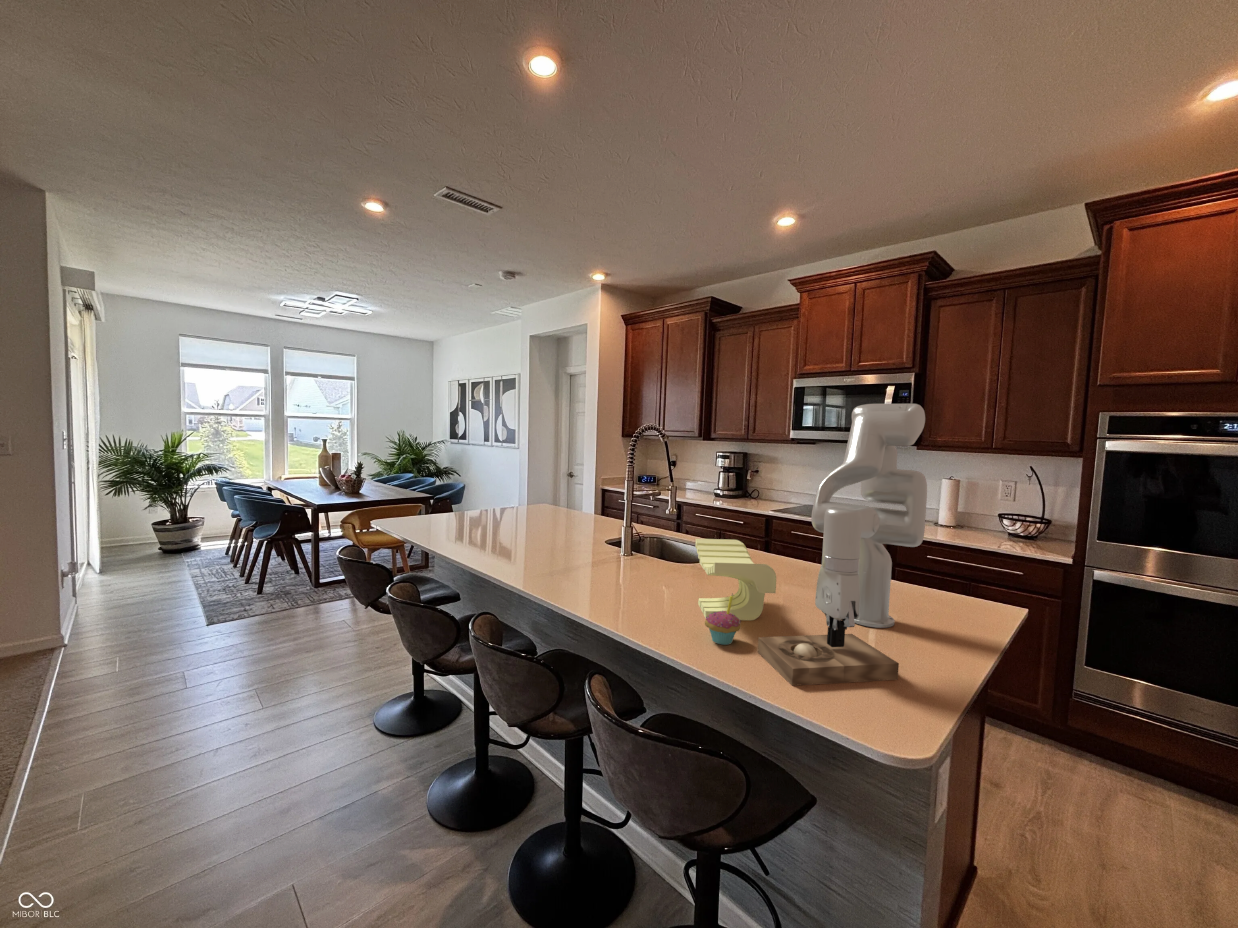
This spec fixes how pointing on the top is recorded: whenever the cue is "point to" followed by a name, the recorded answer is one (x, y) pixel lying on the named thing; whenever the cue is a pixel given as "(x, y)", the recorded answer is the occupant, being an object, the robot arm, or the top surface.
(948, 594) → the top surface
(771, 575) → the slatted curved stool
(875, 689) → the top surface
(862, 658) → the board
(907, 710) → the top surface
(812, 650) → the ball
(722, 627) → the cupcake
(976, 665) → the top surface
